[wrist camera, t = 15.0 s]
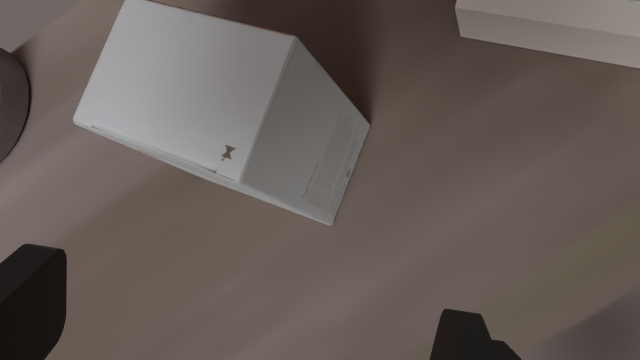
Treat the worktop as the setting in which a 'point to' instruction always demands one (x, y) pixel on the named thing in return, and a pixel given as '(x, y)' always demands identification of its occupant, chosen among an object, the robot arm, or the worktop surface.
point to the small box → (226, 106)
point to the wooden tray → (558, 26)
